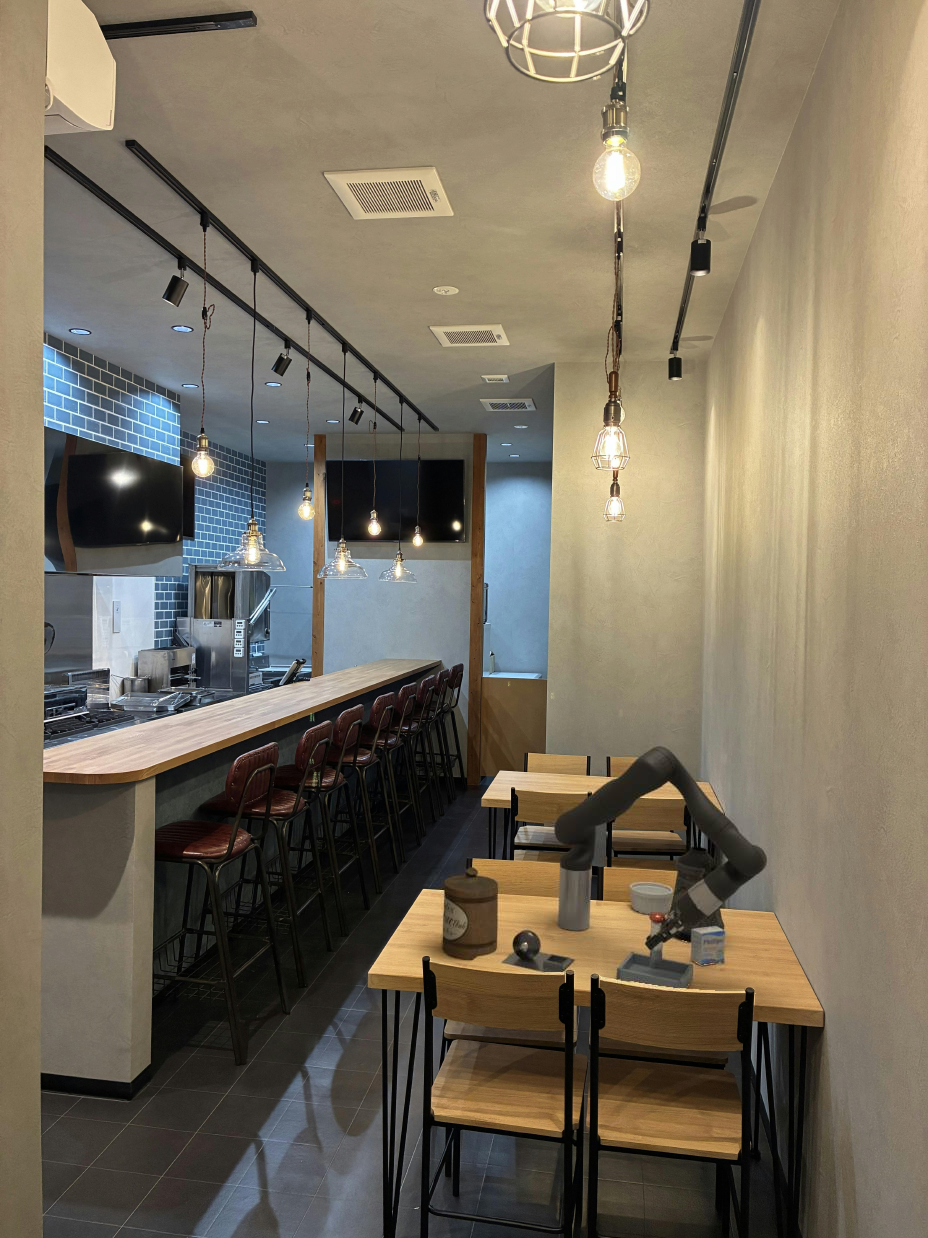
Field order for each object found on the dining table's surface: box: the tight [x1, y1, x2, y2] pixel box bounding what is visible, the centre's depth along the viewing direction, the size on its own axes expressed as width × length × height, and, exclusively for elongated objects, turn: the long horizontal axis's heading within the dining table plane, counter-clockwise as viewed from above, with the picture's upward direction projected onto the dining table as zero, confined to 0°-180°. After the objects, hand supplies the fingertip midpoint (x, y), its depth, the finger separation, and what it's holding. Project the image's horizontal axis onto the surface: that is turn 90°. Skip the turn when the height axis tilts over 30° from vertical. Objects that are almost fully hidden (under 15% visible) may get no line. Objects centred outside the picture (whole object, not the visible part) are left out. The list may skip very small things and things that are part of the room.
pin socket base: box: [501, 929, 576, 973], centre depth 226 cm, size 12×16×8 cm
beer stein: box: [666, 846, 725, 943], centre depth 252 cm, size 16×19×25 cm
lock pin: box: [649, 912, 666, 969], centre depth 218 cm, size 4×4×13 cm
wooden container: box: [442, 866, 499, 961], centre depth 235 cm, size 15×15×22 cm
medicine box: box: [690, 926, 726, 966], centre depth 232 cm, size 8×4×9 cm, turn 114°
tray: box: [616, 951, 694, 989], centre depth 218 cm, size 13×16×4 cm
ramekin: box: [629, 881, 674, 915], centre depth 273 cm, size 13×13×7 cm
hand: (648, 944), depth 219 cm, fingers closed on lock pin, 3 cm apart
